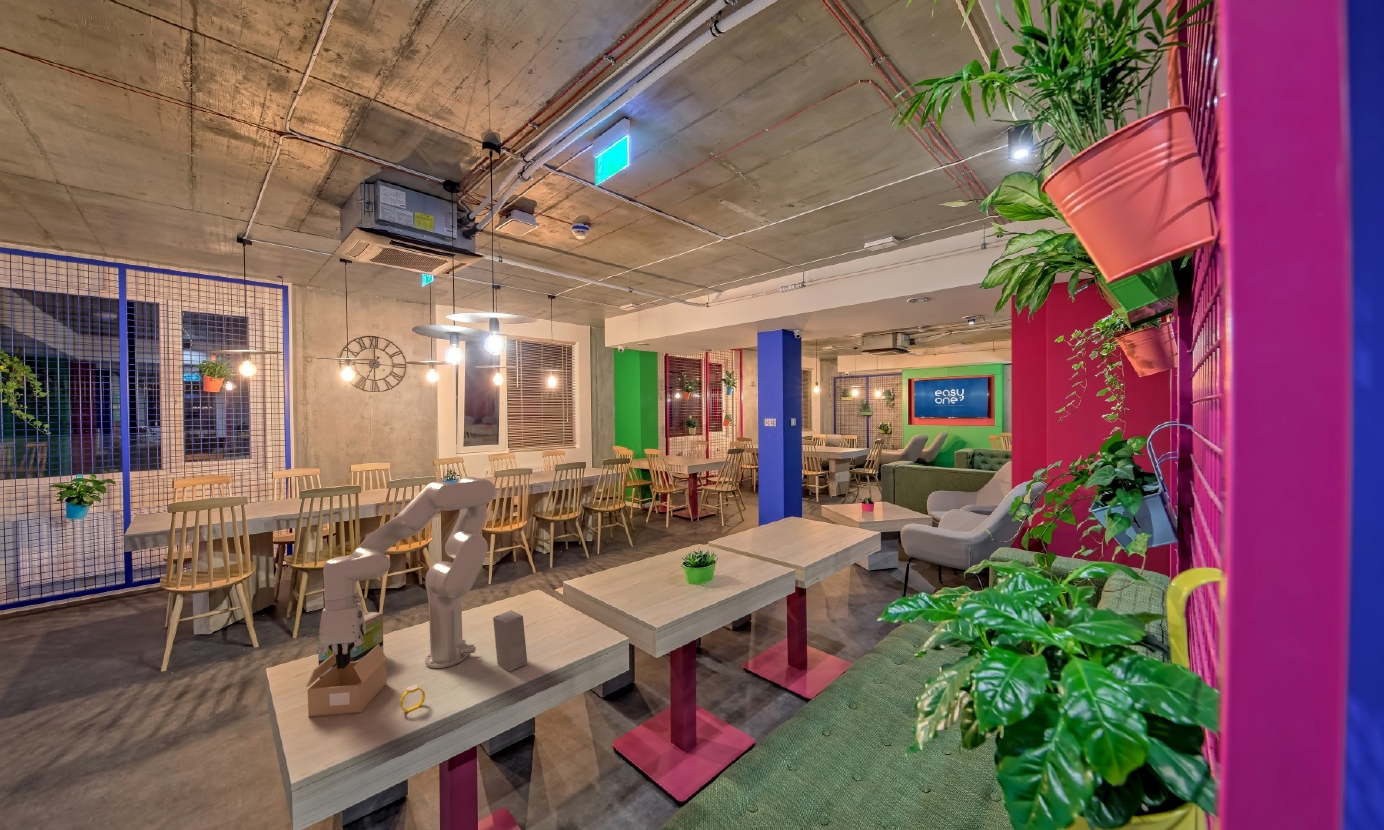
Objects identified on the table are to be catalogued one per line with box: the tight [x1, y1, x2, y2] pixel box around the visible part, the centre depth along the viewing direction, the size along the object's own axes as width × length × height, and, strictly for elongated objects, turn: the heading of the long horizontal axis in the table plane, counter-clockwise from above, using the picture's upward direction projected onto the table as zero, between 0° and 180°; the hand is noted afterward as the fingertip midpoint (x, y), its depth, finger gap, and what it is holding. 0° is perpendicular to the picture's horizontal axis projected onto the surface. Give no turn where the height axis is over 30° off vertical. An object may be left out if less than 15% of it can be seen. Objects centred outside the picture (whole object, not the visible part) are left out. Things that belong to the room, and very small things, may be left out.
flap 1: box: [306, 654, 336, 688], centre depth 139 cm, size 5×12×1 cm
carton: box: [307, 659, 387, 718], centre depth 139 cm, size 13×14×8 cm
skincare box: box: [492, 610, 528, 672], centre depth 157 cm, size 8×7×16 cm
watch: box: [399, 684, 426, 713], centre depth 135 cm, size 6×3×6 cm, turn 136°
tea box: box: [317, 611, 384, 678], centre depth 158 cm, size 15×10×15 cm, turn 168°
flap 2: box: [354, 644, 388, 683], centre depth 140 cm, size 5×12×1 cm
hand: (343, 666), depth 139 cm, fingers closed
